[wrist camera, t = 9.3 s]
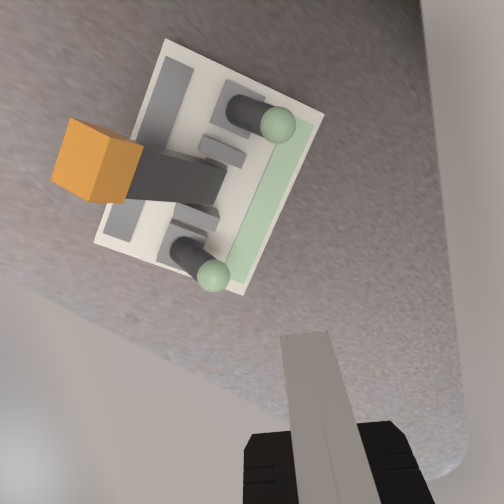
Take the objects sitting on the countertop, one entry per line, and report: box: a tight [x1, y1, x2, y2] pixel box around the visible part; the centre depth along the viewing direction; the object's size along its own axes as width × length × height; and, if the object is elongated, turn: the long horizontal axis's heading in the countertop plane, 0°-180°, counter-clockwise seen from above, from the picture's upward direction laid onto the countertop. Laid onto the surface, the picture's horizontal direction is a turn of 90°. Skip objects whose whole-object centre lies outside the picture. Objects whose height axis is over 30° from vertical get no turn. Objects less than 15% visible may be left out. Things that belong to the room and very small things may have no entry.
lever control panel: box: [93, 38, 325, 295], centre depth 31 cm, size 15×12×9 cm
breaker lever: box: [51, 118, 228, 207], centre depth 26 cm, size 3×2×13 cm
